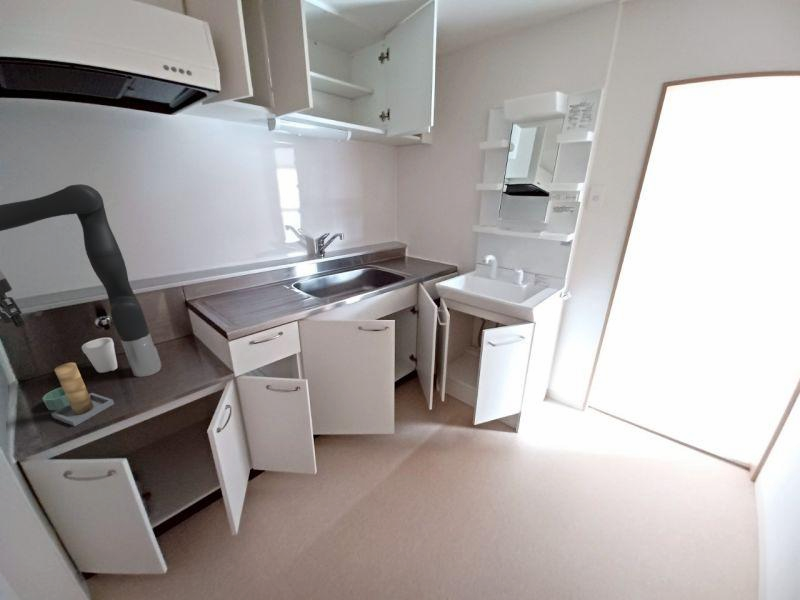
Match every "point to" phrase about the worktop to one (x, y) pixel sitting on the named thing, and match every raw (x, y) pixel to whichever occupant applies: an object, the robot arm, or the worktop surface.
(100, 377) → the worktop surface
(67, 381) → the wooden dowel
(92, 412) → the tray
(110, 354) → the foam cup
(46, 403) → the holder pot
